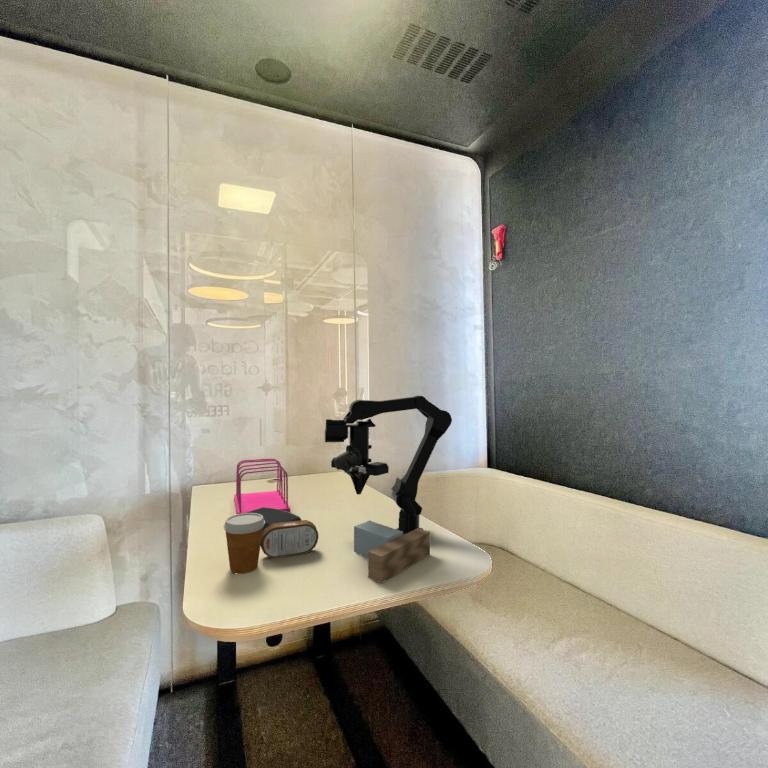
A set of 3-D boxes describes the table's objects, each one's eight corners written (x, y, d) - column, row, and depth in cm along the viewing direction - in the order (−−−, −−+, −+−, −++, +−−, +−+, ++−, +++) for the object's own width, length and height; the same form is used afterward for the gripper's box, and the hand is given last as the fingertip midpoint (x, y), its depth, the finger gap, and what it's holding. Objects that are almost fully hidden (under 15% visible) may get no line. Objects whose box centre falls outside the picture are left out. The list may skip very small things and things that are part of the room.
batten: (417, 550, 107) (417, 528, 107) (429, 554, 105) (430, 531, 105) (368, 577, 92) (368, 551, 92) (381, 583, 89) (381, 556, 89)
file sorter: (237, 519, 131) (238, 471, 132) (234, 499, 154) (234, 458, 155) (290, 513, 138) (291, 468, 138) (279, 494, 161) (280, 456, 161)
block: (369, 545, 110) (369, 520, 110) (402, 558, 102) (402, 531, 102) (353, 552, 106) (354, 526, 106) (387, 566, 98) (387, 538, 98)
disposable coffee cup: (216, 567, 96) (217, 518, 96) (253, 556, 103) (254, 509, 103) (233, 581, 89) (233, 528, 89) (271, 568, 96) (272, 518, 96)
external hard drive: (264, 516, 135) (265, 504, 135) (306, 527, 125) (306, 514, 125) (231, 527, 124) (231, 514, 124) (273, 541, 114) (273, 526, 114)
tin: (316, 548, 108) (317, 517, 108) (319, 552, 105) (319, 520, 105) (259, 556, 103) (259, 524, 103) (260, 561, 100) (260, 528, 100)
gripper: (317, 441, 118) (317, 494, 118) (364, 448, 106) (363, 506, 106) (344, 438, 127) (344, 486, 127) (390, 444, 115) (389, 497, 115)
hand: (358, 494), depth 118 cm, fingers closed
